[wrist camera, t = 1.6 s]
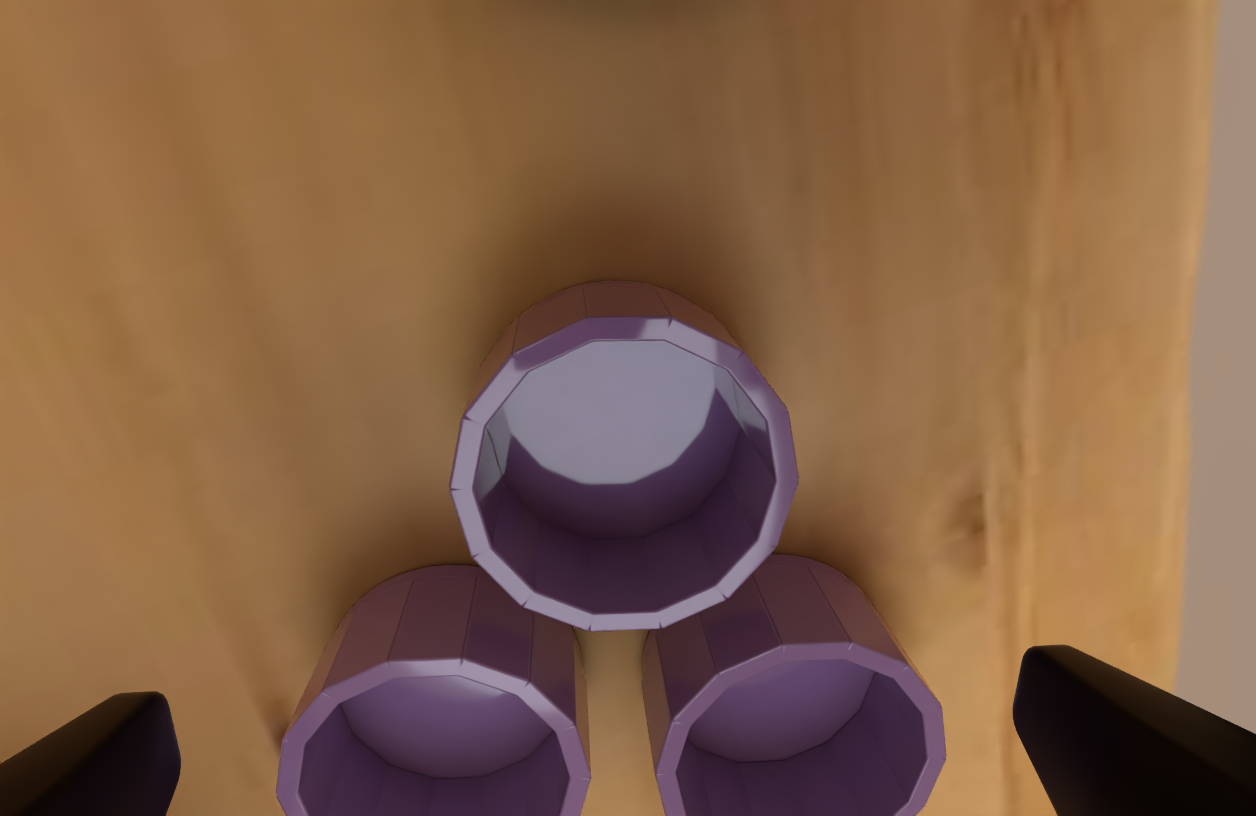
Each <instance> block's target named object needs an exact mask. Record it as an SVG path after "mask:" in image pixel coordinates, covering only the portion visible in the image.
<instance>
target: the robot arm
mask: <svg viewBox="0 0 1256 816" xmlns="http://www.w3.org/2000/svg"><path fill="white" fill-rule="evenodd" d="M1013 720H1014V725H1015V728H1016V731H1017V733H1018V735H1019V737H1020V739H1021V741H1022V744H1023V746H1024V748H1025V750H1026V752H1027V754H1028V756H1029V758H1030V760H1031V762H1032V764H1033V766H1034V768H1035V770H1036V772H1037V774H1038V776H1039V778H1040V780H1041V782H1042V784H1043V786H1044V789H1045V791H1046V793H1047V795H1048V797H1049V799H1050V801H1051V803H1052V805H1053V807H1054V809H1055V811H1056V813H1057V815H1058V816H1256V734H1254V733H1252V732H1250V731H1248V730H1246V729H1244V728H1241V727H1240V726H1238V725H1235V724H1233V723H1231V722H1229V721H1227V720H1225V719H1222V718H1220V717H1218V716H1216V715H1214V714H1212V713H1210V712H1208V711H1206V710H1204V709H1202V708H1200V707H1197V706H1195V705H1193V704H1191V703H1189V702H1187V701H1185V700H1183V699H1181V698H1179V697H1176V696H1174V695H1172V694H1170V693H1168V692H1166V691H1164V690H1162V689H1160V688H1157V687H1155V686H1153V685H1151V684H1149V683H1147V682H1145V681H1143V680H1141V679H1139V678H1136V677H1134V676H1132V675H1130V674H1128V673H1126V672H1124V671H1122V670H1120V669H1117V668H1115V667H1113V666H1111V665H1109V664H1107V663H1105V662H1103V661H1101V660H1098V659H1096V658H1094V657H1092V656H1090V655H1088V654H1086V653H1084V652H1082V651H1080V650H1077V649H1075V648H1073V647H1071V646H1067V645H1045V646H1033V647H1031V648H1029V649H1028V650H1027V651H1026V652H1025V654H1024V656H1023V659H1022V663H1021V668H1020V673H1019V678H1018V683H1017V688H1016V693H1015V698H1014V703H1013ZM180 768H181V757H180V751H179V747H178V743H177V738H176V734H175V730H174V725H173V721H172V717H171V712H170V708H169V704H168V702H167V699H166V698H165V696H164V695H163V694H161V693H159V692H155V691H151V692H132V693H120V694H116V695H114V696H112V697H110V698H108V699H107V700H105V701H103V702H102V703H100V704H98V705H97V706H95V707H93V708H92V709H90V710H89V711H87V712H85V713H84V714H82V715H80V716H79V717H77V718H75V719H74V720H72V721H70V722H69V723H67V724H65V725H64V726H62V727H60V728H59V729H57V730H56V731H54V732H52V733H51V734H49V735H47V736H46V737H44V738H42V739H41V740H39V741H37V742H36V743H34V744H32V745H31V746H29V747H27V748H26V749H24V750H23V751H21V752H19V753H18V754H16V755H14V756H13V757H11V758H9V759H8V760H6V761H4V762H3V763H1V764H0V816H166V813H167V810H168V808H169V805H170V802H171V800H172V797H173V794H174V791H175V789H176V786H177V783H178V780H179V775H180Z"/></svg>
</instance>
